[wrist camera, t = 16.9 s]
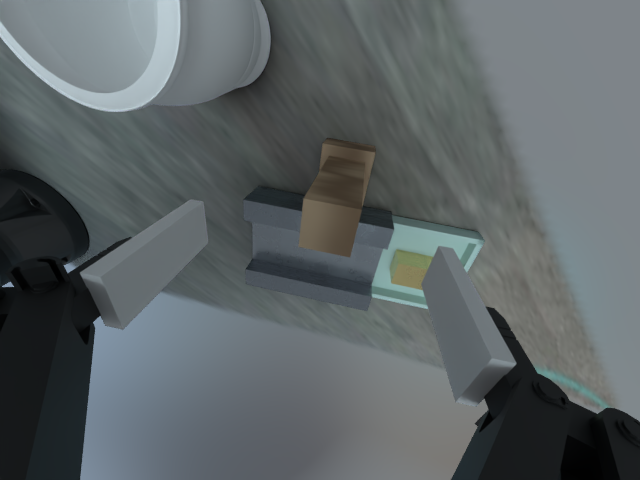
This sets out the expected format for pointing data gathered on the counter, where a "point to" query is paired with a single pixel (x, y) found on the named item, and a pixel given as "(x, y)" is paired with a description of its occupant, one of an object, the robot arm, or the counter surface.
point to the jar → (139, 48)
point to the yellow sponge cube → (426, 262)
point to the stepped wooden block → (336, 197)
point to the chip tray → (424, 242)
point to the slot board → (311, 252)
